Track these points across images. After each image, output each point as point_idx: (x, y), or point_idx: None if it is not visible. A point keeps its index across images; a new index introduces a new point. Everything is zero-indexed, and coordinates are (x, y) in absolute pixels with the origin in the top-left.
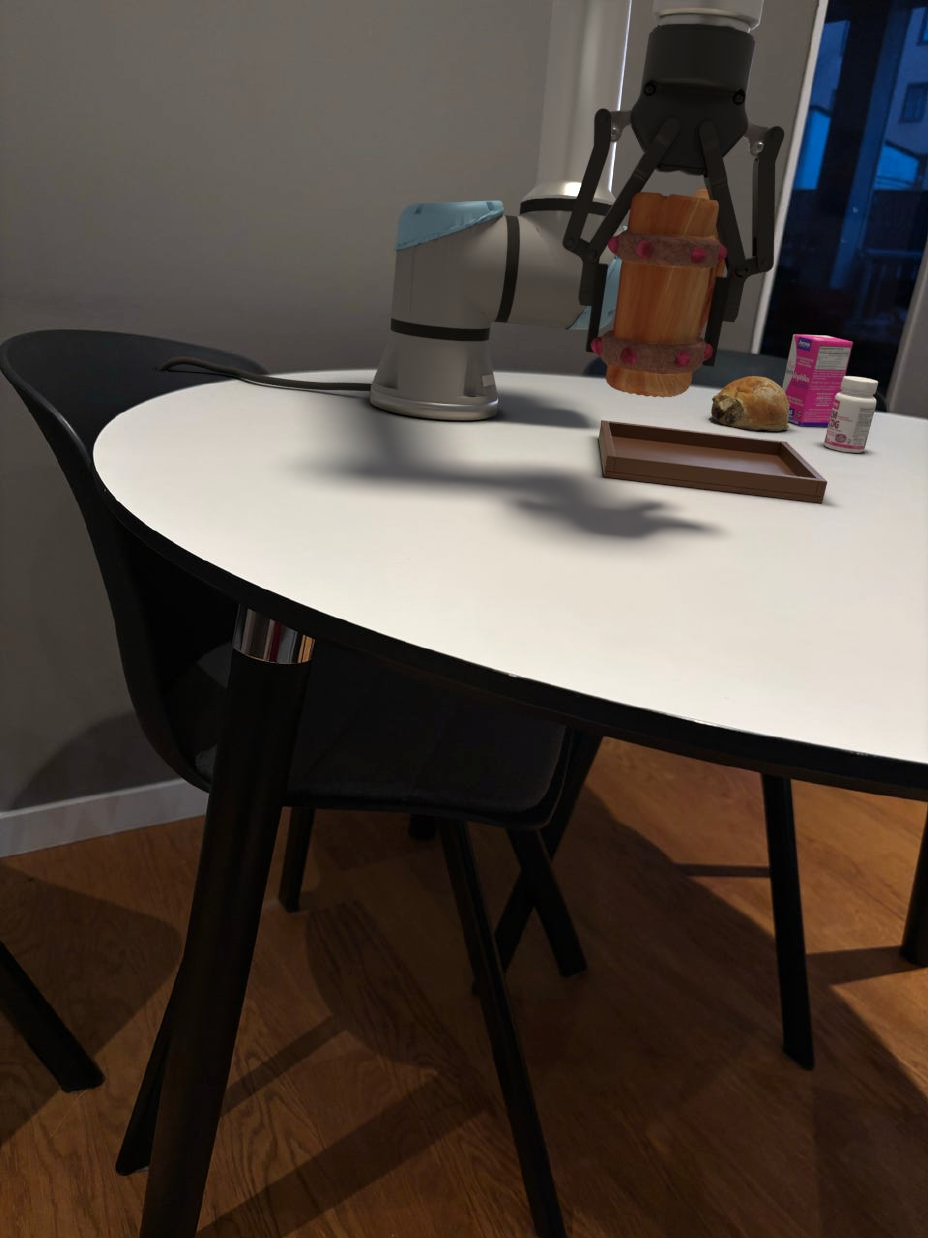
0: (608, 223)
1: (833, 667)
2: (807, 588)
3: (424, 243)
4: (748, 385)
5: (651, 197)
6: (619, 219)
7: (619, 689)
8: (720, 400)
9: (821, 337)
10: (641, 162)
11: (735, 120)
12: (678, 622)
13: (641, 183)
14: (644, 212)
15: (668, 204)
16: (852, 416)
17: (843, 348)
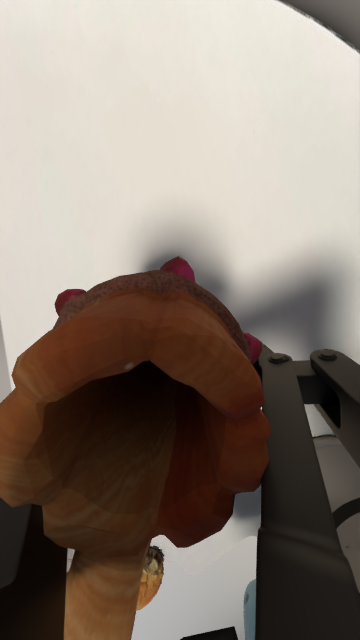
0: (287, 395)
1: (7, 85)
2: (45, 225)
3: None
4: (140, 592)
5: (197, 324)
6: (270, 407)
7: None
8: (157, 570)
9: None
10: (355, 619)
11: None
12: (95, 111)
13: (275, 513)
14: (205, 318)
15: (131, 310)
16: (67, 563)
17: None
